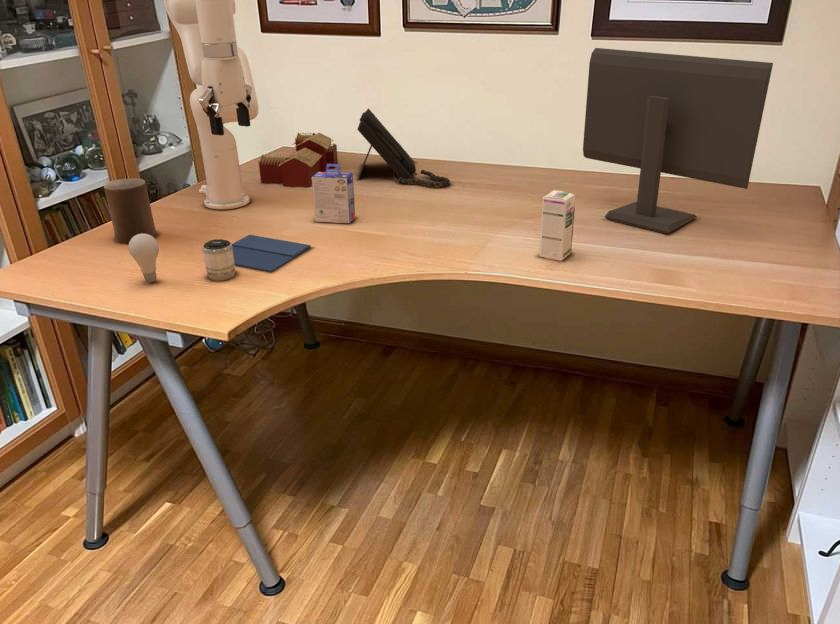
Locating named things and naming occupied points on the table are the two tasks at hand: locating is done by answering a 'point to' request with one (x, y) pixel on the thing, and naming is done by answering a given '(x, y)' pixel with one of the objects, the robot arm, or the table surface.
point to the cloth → (265, 252)
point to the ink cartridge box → (333, 196)
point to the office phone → (393, 152)
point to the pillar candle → (129, 208)
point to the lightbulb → (145, 254)
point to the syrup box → (557, 225)
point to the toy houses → (299, 161)
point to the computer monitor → (673, 123)
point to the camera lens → (219, 259)
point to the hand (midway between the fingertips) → (231, 130)
